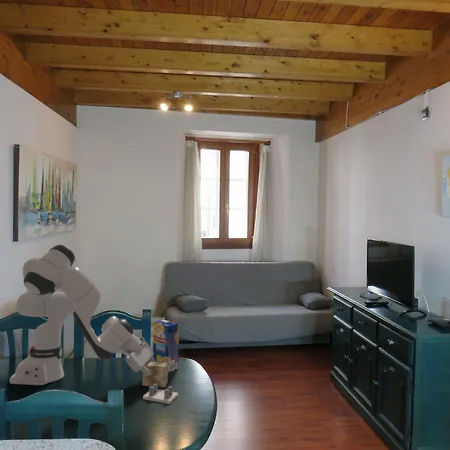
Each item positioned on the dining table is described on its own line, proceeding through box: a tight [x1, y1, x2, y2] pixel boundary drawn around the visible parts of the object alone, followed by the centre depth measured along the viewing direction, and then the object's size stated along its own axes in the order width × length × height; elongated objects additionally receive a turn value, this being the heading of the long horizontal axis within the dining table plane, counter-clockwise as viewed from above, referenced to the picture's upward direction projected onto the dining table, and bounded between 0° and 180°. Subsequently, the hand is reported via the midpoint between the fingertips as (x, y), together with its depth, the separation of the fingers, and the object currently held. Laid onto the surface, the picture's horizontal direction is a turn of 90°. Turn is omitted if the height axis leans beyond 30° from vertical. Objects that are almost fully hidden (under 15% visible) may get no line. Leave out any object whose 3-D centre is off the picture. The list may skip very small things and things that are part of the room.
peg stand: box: [142, 384, 179, 405], centre depth 176 cm, size 12×8×4 cm, turn 70°
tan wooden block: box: [142, 361, 169, 388], centre depth 190 cm, size 10×5×9 cm, turn 84°
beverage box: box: [152, 319, 180, 373], centre depth 209 cm, size 7×11×22 cm, turn 51°
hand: (153, 370), depth 189 cm, fingers open, 8 cm apart
